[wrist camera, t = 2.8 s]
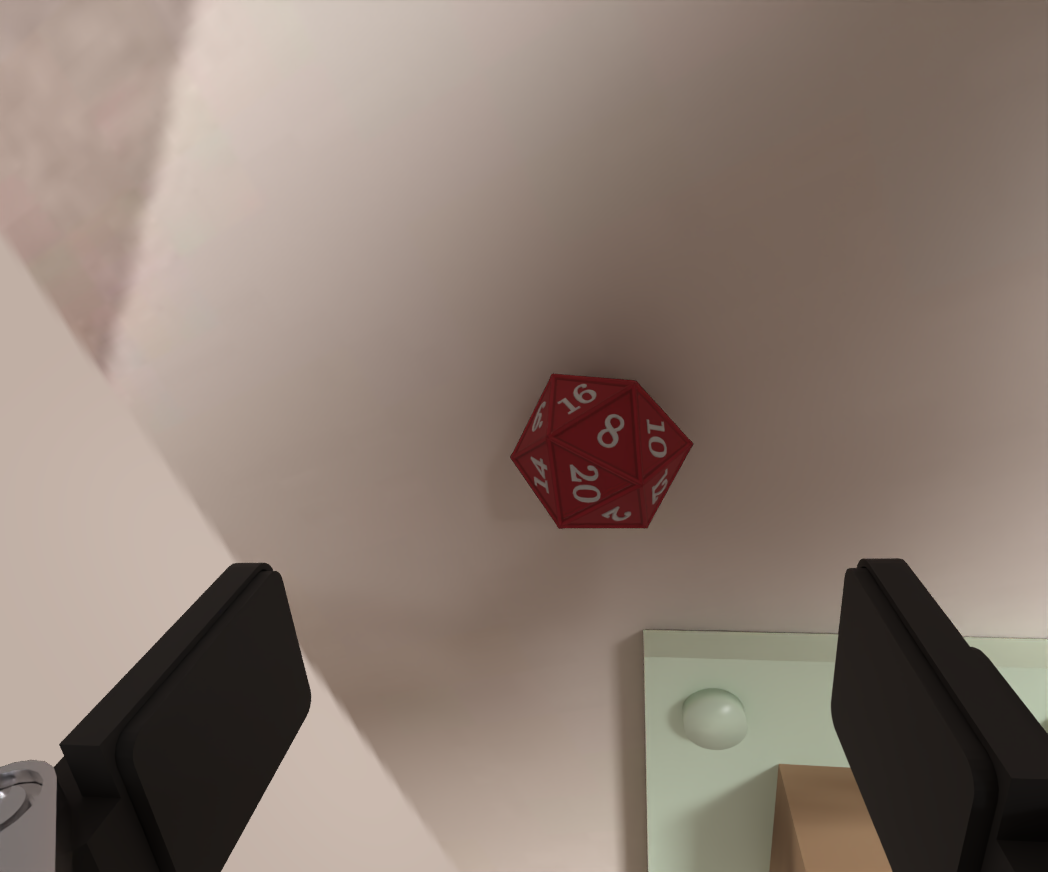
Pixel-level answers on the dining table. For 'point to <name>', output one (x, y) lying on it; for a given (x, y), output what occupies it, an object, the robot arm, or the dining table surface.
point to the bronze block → (823, 823)
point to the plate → (754, 734)
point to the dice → (599, 452)
